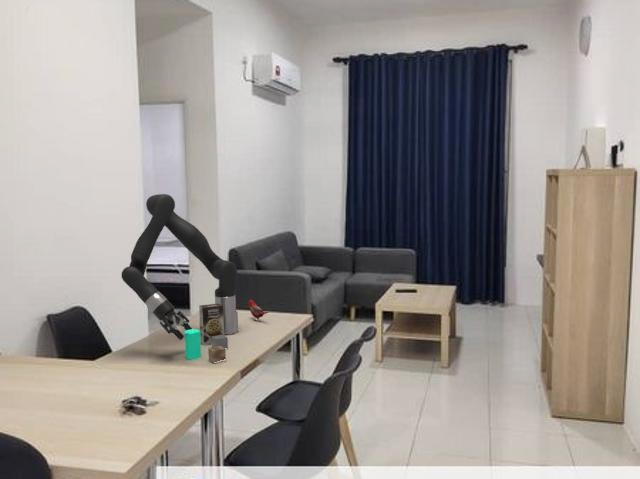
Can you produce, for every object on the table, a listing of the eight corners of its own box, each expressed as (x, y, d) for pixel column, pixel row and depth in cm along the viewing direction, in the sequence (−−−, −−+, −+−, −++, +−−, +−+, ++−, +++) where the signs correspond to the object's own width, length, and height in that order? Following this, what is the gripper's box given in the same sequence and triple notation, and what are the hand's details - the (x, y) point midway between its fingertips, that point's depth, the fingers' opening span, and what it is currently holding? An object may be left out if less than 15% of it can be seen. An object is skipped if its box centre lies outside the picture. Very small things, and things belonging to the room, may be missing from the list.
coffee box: (204, 345, 241) (202, 307, 239) (199, 341, 247) (198, 305, 245) (224, 342, 245) (223, 305, 244) (220, 338, 251) (219, 302, 249)
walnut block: (220, 358, 223) (220, 345, 223) (225, 361, 219) (225, 348, 218) (208, 360, 221) (208, 348, 220) (213, 364, 216) (212, 351, 216)
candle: (186, 355, 228) (185, 325, 227) (202, 354, 228) (200, 325, 227) (184, 359, 222) (183, 329, 221) (200, 359, 222) (199, 328, 221)
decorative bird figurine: (251, 318, 288) (250, 298, 287) (271, 324, 274) (270, 303, 273) (246, 318, 286) (245, 299, 285) (266, 325, 273) (265, 304, 272)
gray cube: (223, 346, 239) (222, 334, 239) (227, 349, 235) (227, 337, 235) (211, 348, 237) (211, 336, 236) (216, 351, 233) (215, 339, 232)
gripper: (156, 303, 218) (185, 334, 217) (174, 296, 232) (201, 324, 231) (144, 316, 220) (172, 346, 219) (163, 308, 234) (189, 337, 232)
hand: (187, 335), depth 225 cm, fingers open, 8 cm apart
